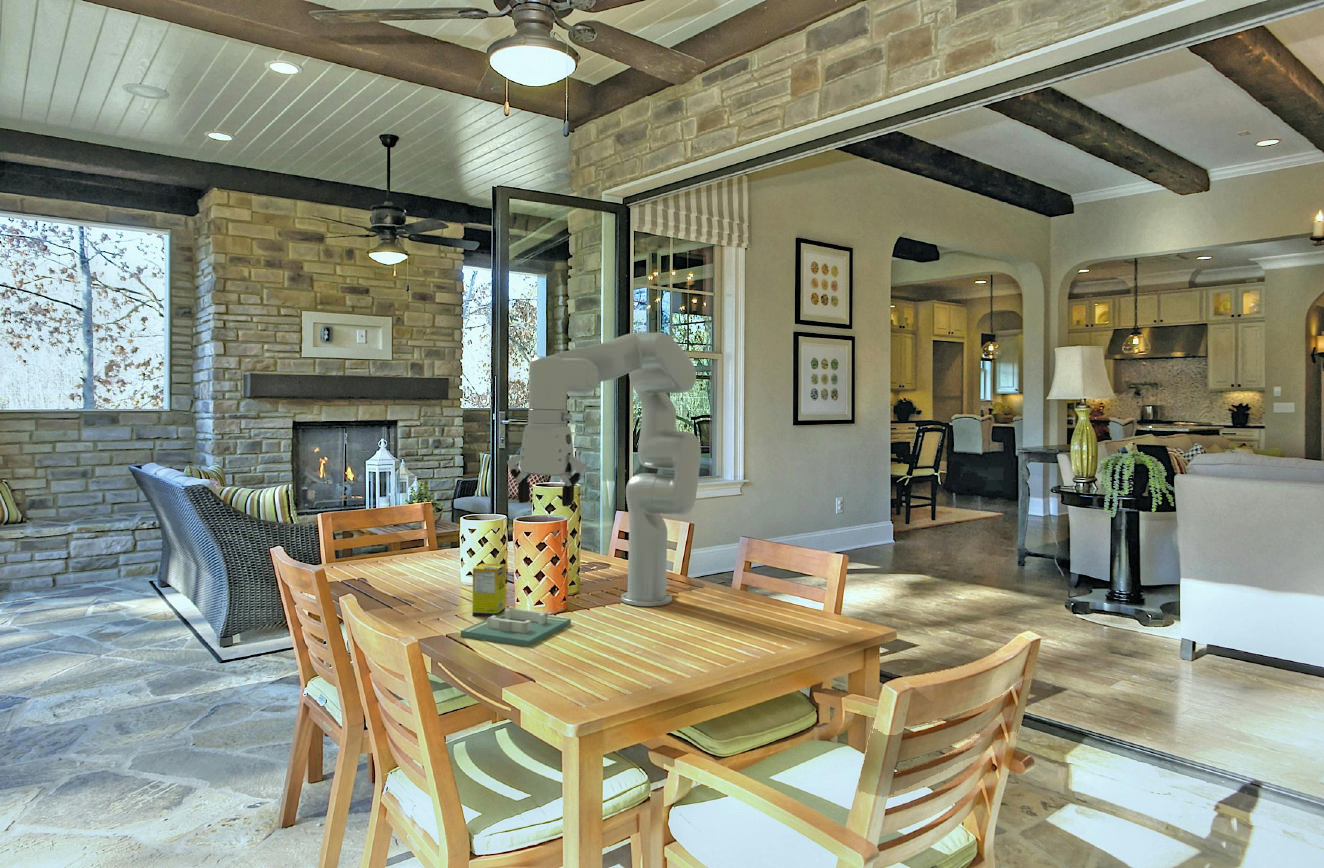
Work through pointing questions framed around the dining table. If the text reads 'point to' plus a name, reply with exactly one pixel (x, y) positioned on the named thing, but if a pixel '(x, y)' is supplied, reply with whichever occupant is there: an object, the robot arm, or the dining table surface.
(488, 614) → the supplement box
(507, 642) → the board
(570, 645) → the dining table surface
